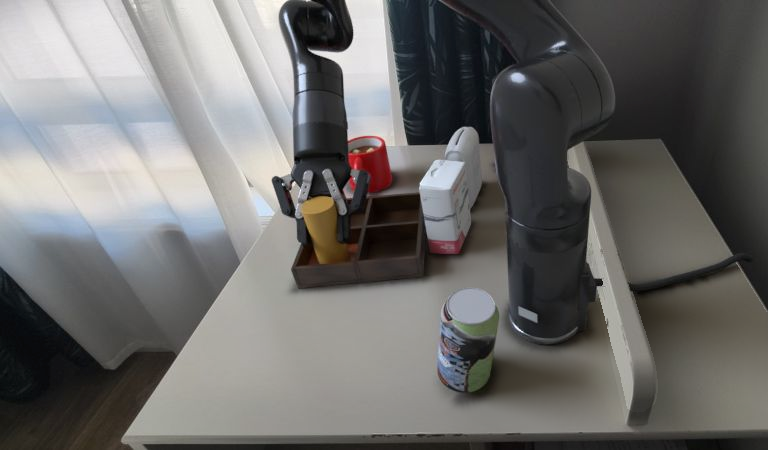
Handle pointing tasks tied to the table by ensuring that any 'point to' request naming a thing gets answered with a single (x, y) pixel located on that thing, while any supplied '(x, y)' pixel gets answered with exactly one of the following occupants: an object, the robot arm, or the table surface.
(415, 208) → the grid
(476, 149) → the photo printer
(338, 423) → the table surface
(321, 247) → the yellow cylinder
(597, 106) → the robot arm
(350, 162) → the mug
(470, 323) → the beverage can
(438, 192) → the ink box
